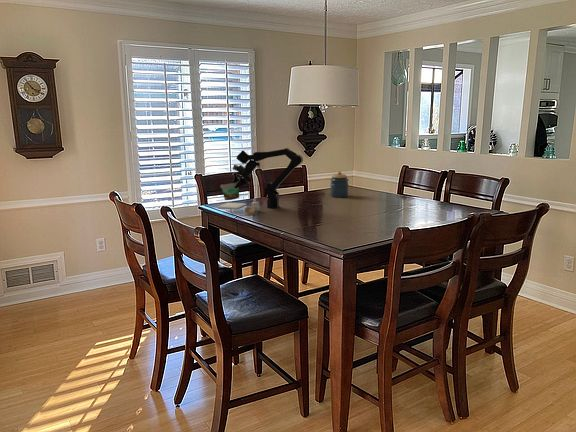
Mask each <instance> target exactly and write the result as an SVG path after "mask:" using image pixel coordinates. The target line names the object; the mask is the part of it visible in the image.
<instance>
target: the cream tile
mask: <svg viewBox="0 0 576 432" xmlns="http://www.w3.org/2000/svg"><path fill="white" fill-rule="evenodd" d="M246 205H247V203H242V202H241V203H240V202H226V203H223V204H221V205H218V206H217V209H226V210H227V209H228V210H229V209H230V210H238V209H240V208H242V207H246Z"/></svg>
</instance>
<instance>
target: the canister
mask: <svg viewBox="0 0 576 432" xmlns="http://www.w3.org/2000/svg"><path fill="white" fill-rule="evenodd" d="M329 186H330V194H329V195H330V197H331V196H332V197H333V198H347V197H349V178H348V175H346V174H344V173H342V172H341V171H337V173H335V174H333V175H332V176H331V178H330V185H329Z"/></svg>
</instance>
